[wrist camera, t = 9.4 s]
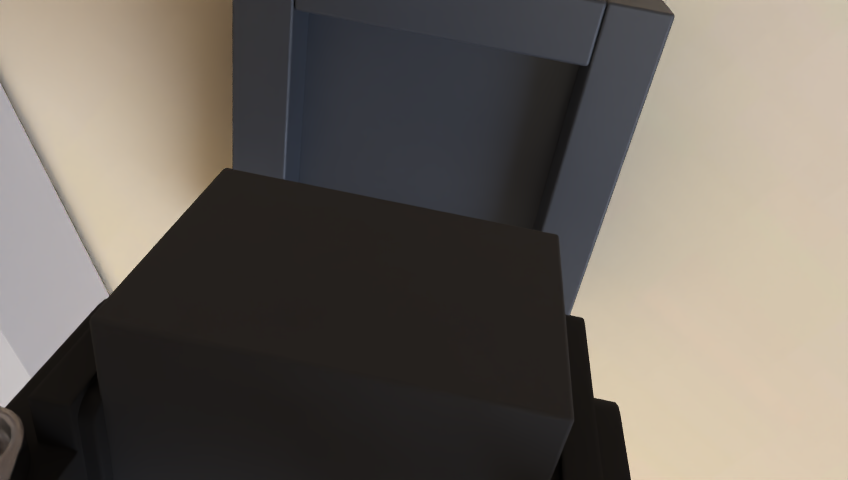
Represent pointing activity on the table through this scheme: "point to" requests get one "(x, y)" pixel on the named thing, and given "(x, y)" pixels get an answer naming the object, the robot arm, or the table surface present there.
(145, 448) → the black block
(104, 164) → the table surface
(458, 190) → the base pad
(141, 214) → the table surface
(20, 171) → the disc drive
